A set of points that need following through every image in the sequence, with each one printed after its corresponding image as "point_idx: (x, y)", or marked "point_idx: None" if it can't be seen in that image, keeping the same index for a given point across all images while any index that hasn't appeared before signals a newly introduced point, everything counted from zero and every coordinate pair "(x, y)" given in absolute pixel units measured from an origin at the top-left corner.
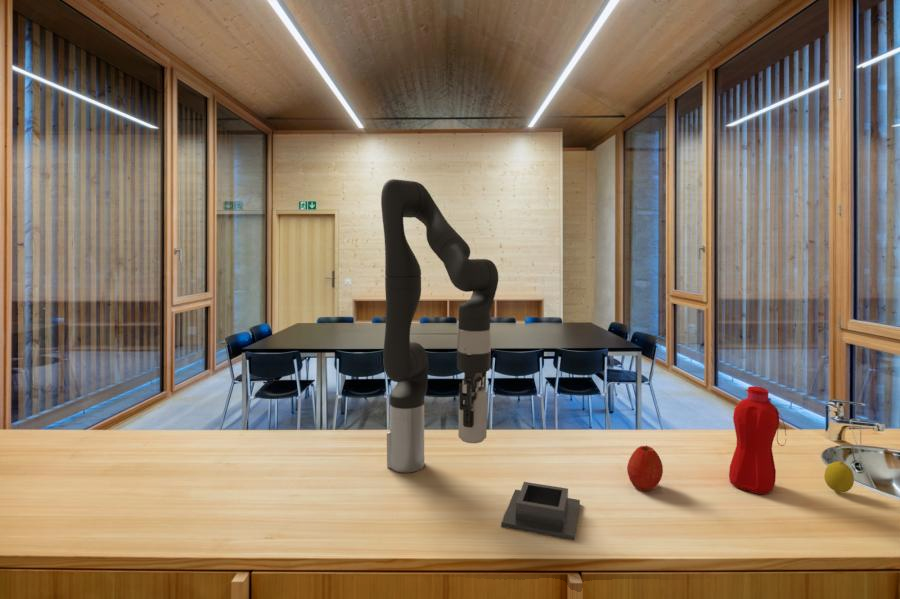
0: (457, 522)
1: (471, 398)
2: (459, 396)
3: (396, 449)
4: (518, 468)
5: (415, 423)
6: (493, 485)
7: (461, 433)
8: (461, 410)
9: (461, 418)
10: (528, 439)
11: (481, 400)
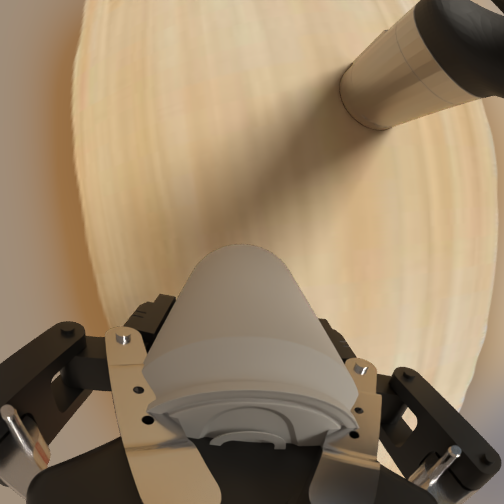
0: (164, 227)
1: (58, 425)
2: (3, 364)
3: (360, 59)
4: (381, 318)
5: (407, 78)
6: (314, 281)
7: (196, 267)
8: (175, 308)
9: (185, 289)
10: (468, 318)
11: None
